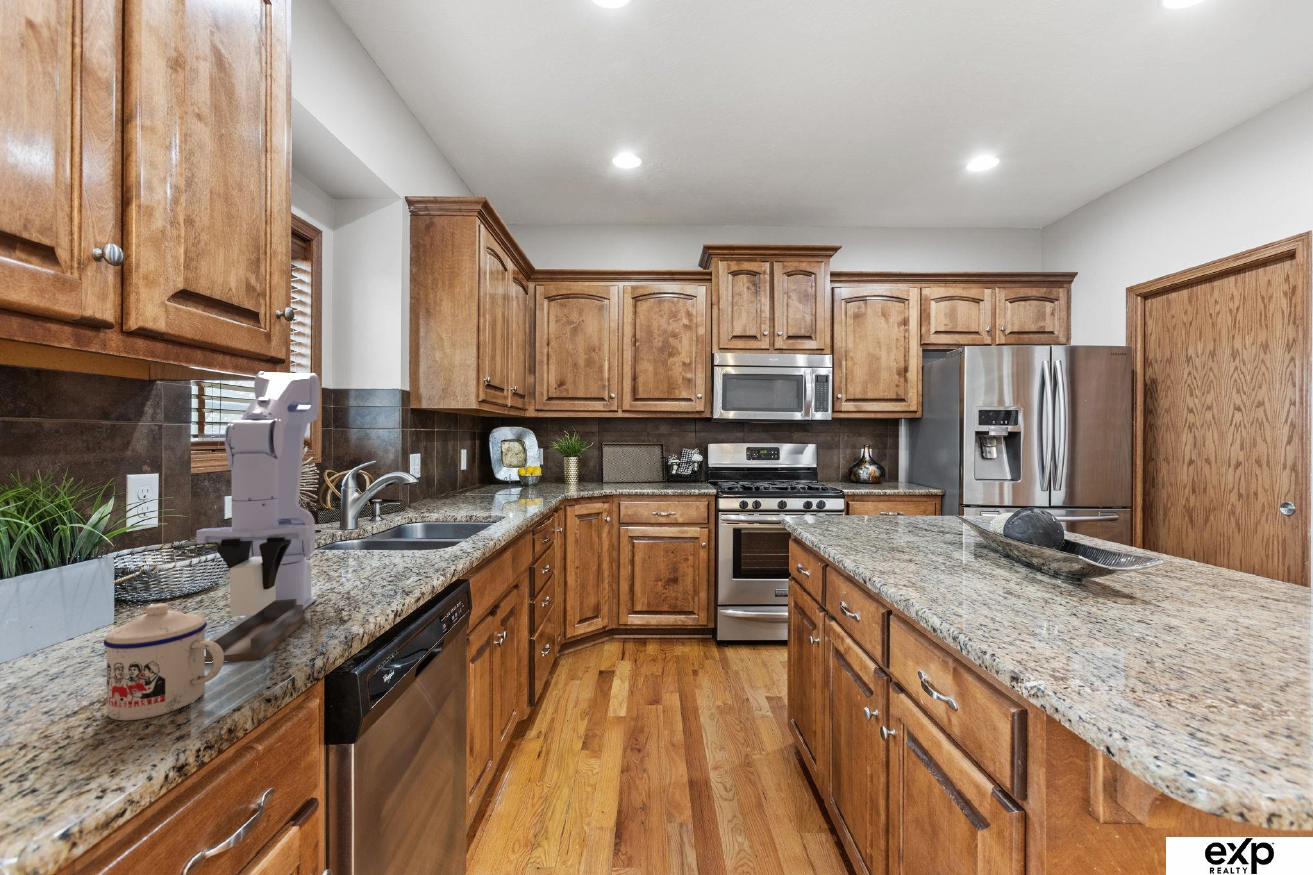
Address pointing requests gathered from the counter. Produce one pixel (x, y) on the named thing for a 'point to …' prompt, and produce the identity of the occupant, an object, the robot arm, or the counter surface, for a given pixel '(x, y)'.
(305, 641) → the counter surface
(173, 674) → the teacup with lid
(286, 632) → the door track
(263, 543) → the robot arm
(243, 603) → the beige rectangular block
